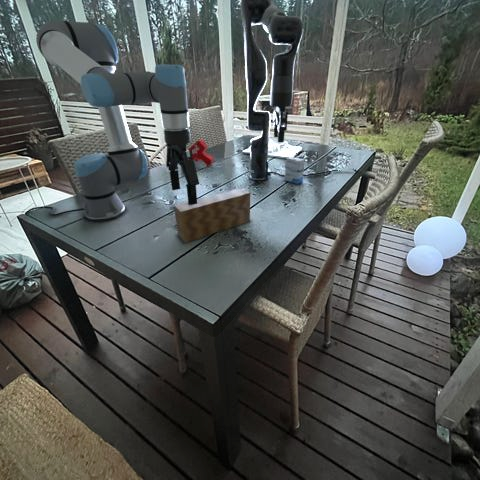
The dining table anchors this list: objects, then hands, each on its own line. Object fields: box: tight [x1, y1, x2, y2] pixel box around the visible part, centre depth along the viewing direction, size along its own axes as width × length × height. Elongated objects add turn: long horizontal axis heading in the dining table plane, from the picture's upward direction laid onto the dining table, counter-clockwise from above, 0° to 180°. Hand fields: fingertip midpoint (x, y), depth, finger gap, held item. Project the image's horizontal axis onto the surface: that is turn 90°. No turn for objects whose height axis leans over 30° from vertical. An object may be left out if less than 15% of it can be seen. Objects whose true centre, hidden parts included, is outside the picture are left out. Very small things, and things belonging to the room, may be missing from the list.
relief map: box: [242, 138, 304, 160], centre depth 192 cm, size 27×35×5 cm
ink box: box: [284, 156, 306, 185], centre depth 140 cm, size 8×5×12 cm, turn 47°
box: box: [173, 187, 251, 243], centre depth 99 cm, size 28×6×12 cm, turn 123°
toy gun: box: [187, 138, 215, 167], centre depth 167 cm, size 18×4×15 cm
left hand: (184, 196), depth 90 cm, fingers open, 13 cm apart
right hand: (278, 139), depth 102 cm, fingers open, 8 cm apart
